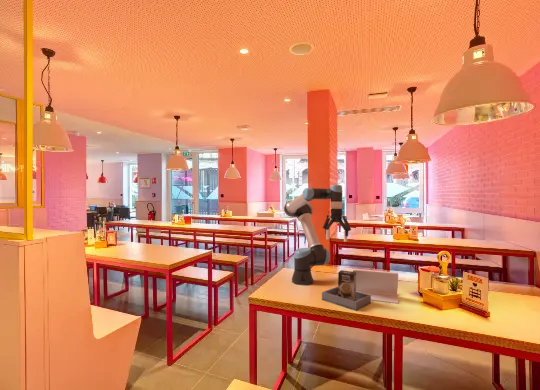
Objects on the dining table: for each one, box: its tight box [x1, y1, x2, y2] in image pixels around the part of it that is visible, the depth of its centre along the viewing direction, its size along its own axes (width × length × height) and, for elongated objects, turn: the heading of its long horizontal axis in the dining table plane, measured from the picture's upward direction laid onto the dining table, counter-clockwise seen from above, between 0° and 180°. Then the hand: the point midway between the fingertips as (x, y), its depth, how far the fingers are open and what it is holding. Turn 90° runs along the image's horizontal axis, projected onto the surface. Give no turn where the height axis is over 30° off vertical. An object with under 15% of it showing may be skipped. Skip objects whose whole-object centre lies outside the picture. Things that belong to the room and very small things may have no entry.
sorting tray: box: [321, 285, 372, 312], centre depth 160 cm, size 22×16×4 cm
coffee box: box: [337, 269, 356, 301], centre depth 159 cm, size 9×6×16 cm
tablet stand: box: [352, 268, 399, 305], centre depth 169 cm, size 18×25×17 cm
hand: (336, 240), depth 183 cm, fingers open, 13 cm apart
